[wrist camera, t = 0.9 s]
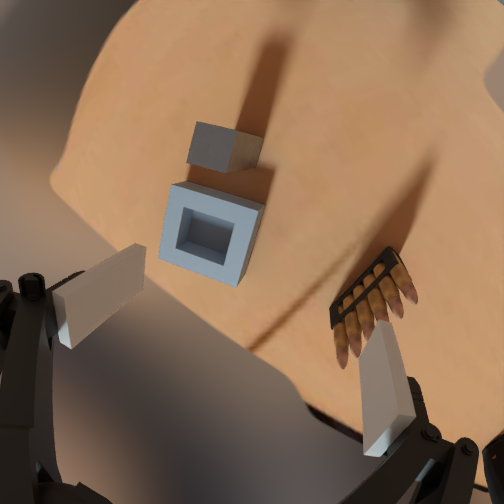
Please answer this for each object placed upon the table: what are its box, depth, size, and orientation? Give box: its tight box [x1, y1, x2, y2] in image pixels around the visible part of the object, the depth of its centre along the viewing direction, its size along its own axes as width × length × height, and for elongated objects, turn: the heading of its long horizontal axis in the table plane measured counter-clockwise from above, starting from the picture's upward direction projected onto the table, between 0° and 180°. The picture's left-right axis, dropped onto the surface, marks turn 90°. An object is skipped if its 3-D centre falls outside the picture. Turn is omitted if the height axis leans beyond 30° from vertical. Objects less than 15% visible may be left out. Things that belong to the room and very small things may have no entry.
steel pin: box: [186, 121, 264, 174], centre depth 28 cm, size 4×4×11 cm
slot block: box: [158, 181, 265, 287], centre depth 35 cm, size 9×10×4 cm
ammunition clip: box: [329, 246, 418, 369], centre depth 29 cm, size 11×2×12 cm, turn 144°
